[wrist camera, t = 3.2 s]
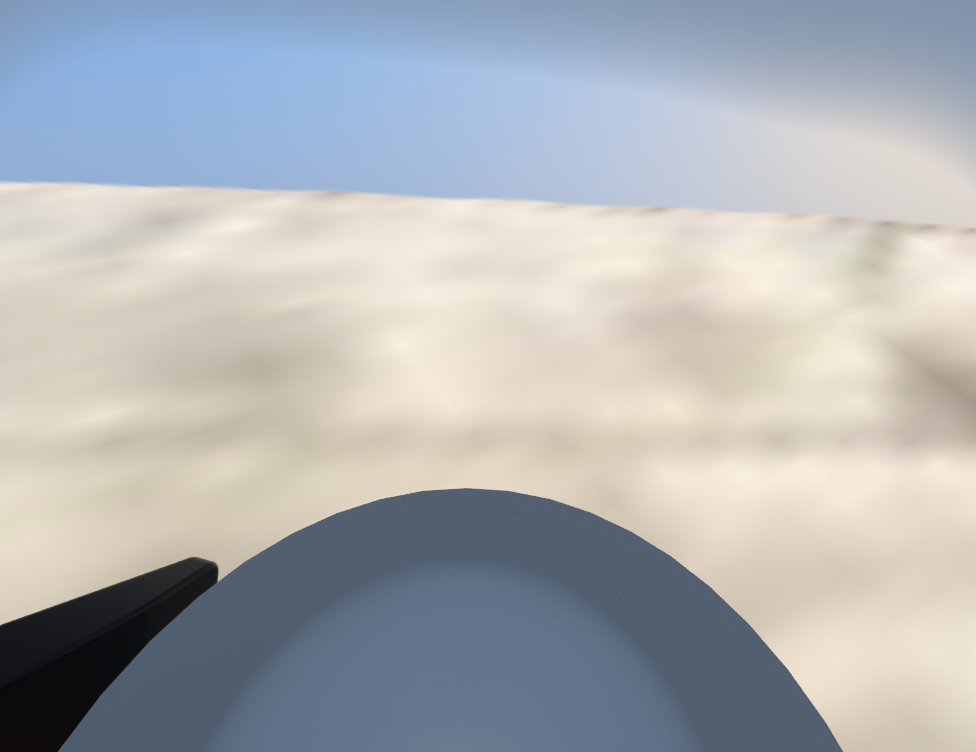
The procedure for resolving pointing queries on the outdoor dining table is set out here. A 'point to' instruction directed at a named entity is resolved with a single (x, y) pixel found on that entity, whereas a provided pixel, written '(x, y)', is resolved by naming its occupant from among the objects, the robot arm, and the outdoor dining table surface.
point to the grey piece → (456, 645)
